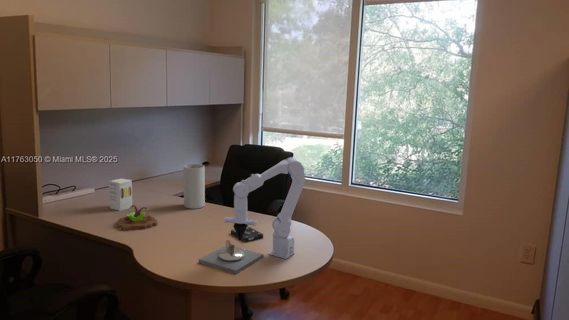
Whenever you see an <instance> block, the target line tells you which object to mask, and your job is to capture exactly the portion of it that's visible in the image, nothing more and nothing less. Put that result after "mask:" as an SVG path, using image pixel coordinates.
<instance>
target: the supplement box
mask: <svg viewBox="0 0 569 320" xmlns="http://www.w3.org/2000/svg"><path fill="white" fill-rule="evenodd" d="M108 190H109V194H108V195H109V209H111V210H115V211H119V212H121V211H125V210H128V209H130V206H132V205H133V182H132V179H126V178H123V177H122V178H121V177H120V178H118V179H117V178H116V179H113V180H108Z"/></svg>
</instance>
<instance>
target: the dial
mask: <svg viewBox="0 0 569 320" xmlns="http://www.w3.org/2000/svg"><path fill="white" fill-rule="evenodd" d="M225 246H226V248H227V249H226V250H223V251H221V252H220V253H219V258H220V259H221V260H223V261H229V262H233V261H239V260H241V259H243V258H244V252H243V251H242V250H239V249H234V247H236V246H235V244H233V243H232V242H231V241H230V240H229V239H228V240H225Z"/></svg>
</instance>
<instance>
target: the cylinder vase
mask: <svg viewBox="0 0 569 320" xmlns="http://www.w3.org/2000/svg"><path fill="white" fill-rule="evenodd" d="M182 168H183V170H182V172H183V206H184V208H186V209H193V210H194V209H195V210H197V209H202V208H203V207H205V206H206V201H205V200H206V197H205V196H206V193H205V191H206V189H205V188H206V187H205V186H206V185H205V183H206V180H205V179H206V177H205V176H206V175H205V174H206V172H205V171H206V170H205V165H204V164H200V163H190V164H185V165H183V167H182Z"/></svg>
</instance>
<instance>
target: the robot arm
mask: <svg viewBox="0 0 569 320" xmlns="http://www.w3.org/2000/svg"><path fill="white" fill-rule="evenodd" d="M280 174H283V175H284V174H285V175H287V174H288V175H290V177H291V180H292V181H291V185H290V187H289V190H288V193H287V196H286V198H285V200H284V203H283V206H282V208H281V211H280V212H279V213H278V214H277V216H276V217H275V219H274V220H273V221H272V223H271V226H272V228H273V233H272V251H270V252H268V255H270V256H275V257H278V258H281V259H285V260H286V259H288V258H290V257H291V256H293V255H295V254H296V252H295V237H292V236H291V235H290V233H291V226H292V216H293V213H294V212H295V211H294V210H295V209H296V207H297V206H296V205H297V204H298V201H299V198H300V196H301V193H302V191H303V188H304V186H305V184H306V175H305V167H304V165H303V164H302V162H300V161H299V160H297V159H296V158H294V157H293V156H292V157H288V158H285V159H283V160H281V161H280V162H278V163H277V164H275V165H273V166H272V167H270V168H268V169H267V170H265V171H264V172H262V173H261V174H260V173H255V174H254V173H252V174H250V176H249V177H248V178H246V179H245V180H244V179H242V180H241V181H240V182H239V181H238V182H236V183H235V184H234V186H233V188H232V191H233V193H234V196H233V216H232V217H230V216H229V217H227V216H226V217H224V223H225V224H227V223H229V224H230V223H231V224H233V226H232V227H233V229H235V231H236V233H237V236H238V237H237V238H238V241H243V240H242V239H243V236H244V232H245V230H246V227H247V226H253V227H257V225H258V220H255V219H250V218H248V196H249V193H251V192H253V191H255V190H257V189H258V188H260V187H262V186H263V185H264V182H265V181H267V180H269V179H271V178H274V177H276V176H277V175H280Z"/></svg>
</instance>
